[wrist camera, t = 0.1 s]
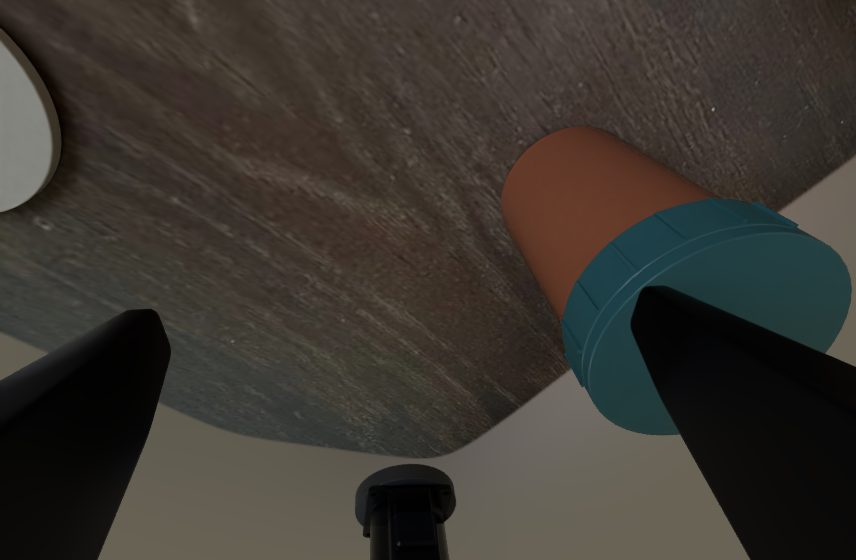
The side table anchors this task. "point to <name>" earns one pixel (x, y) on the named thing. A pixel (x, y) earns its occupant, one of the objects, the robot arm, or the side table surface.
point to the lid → (697, 294)
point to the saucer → (24, 128)
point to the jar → (582, 202)
